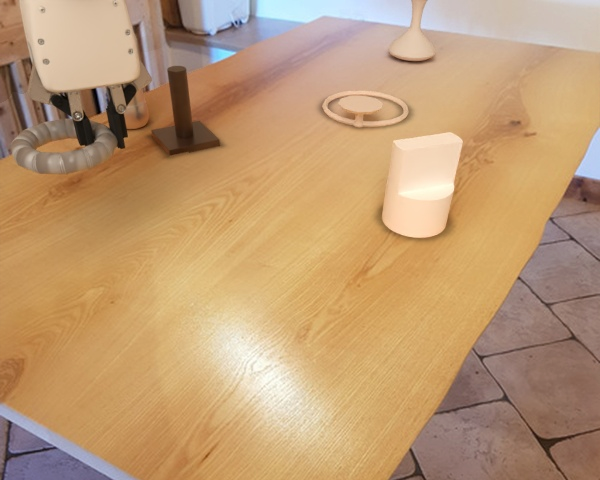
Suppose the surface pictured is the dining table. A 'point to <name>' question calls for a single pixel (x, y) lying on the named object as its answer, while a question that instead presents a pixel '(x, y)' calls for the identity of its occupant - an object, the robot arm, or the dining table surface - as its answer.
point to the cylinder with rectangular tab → (421, 184)
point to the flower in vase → (413, 38)
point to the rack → (183, 120)
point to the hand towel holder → (363, 107)
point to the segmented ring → (65, 161)
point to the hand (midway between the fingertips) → (104, 145)
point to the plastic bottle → (137, 110)
